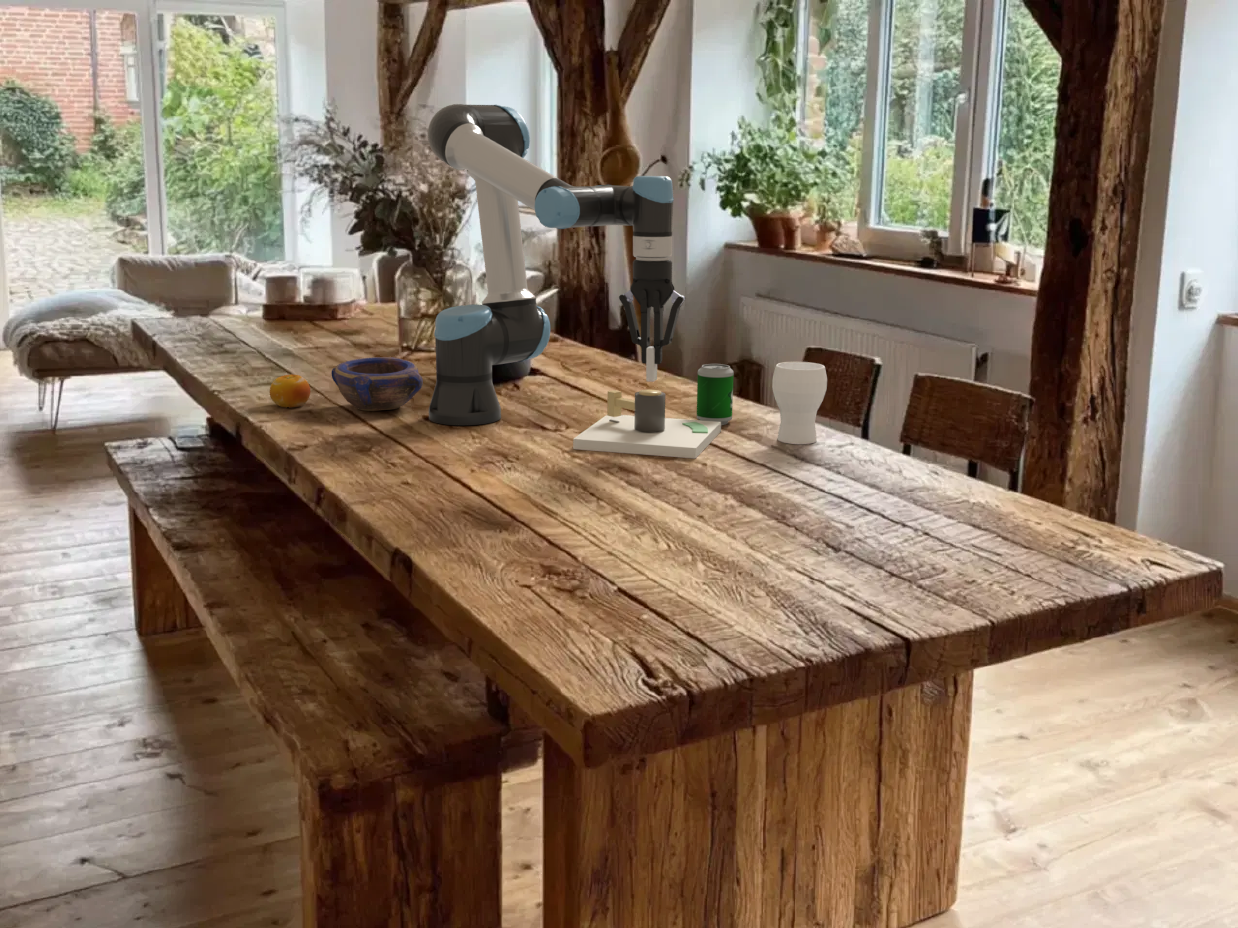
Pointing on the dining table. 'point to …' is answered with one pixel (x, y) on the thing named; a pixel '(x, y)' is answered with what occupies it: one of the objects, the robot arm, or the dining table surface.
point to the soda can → (715, 393)
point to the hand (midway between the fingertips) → (651, 380)
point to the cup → (798, 399)
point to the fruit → (290, 391)
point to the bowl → (377, 382)
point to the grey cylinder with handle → (640, 408)
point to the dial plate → (648, 437)
